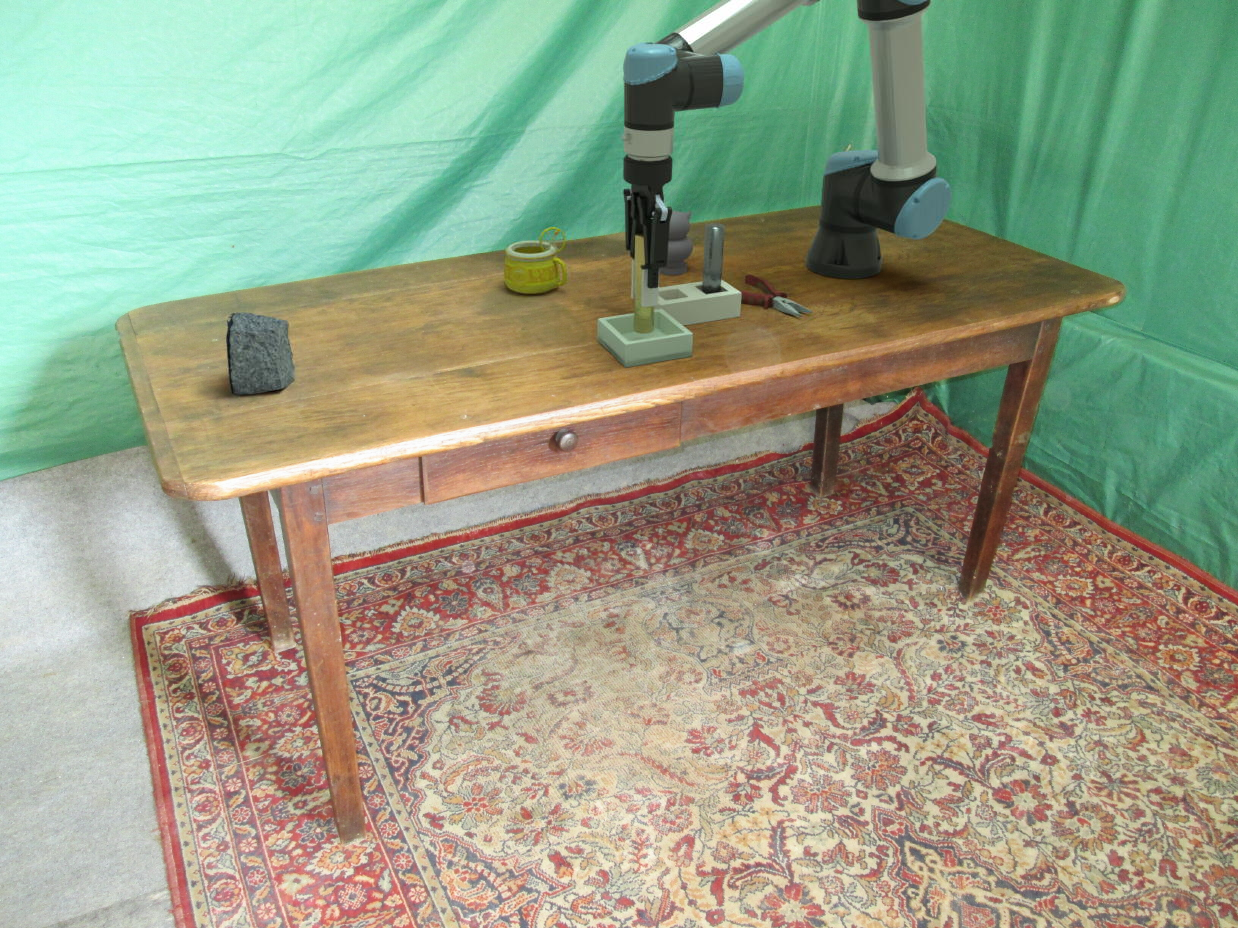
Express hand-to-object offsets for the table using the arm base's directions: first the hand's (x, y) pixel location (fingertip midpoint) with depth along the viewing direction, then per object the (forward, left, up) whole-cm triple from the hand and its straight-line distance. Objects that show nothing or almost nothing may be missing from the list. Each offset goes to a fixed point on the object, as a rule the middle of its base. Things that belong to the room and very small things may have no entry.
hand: (644, 301), depth 162 cm
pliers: (-29, -12, -9) cm, 32 cm away
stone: (+60, -10, -9) cm, 61 cm away
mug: (+7, -34, -9) cm, 36 cm away
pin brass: (0, 0, -5) cm, 5 cm away
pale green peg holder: (-14, -11, -8) cm, 19 cm away
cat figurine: (-22, -34, -9) cm, 41 cm away
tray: (0, 0, -8) cm, 8 cm away
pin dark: (-18, -11, -8) cm, 23 cm away
